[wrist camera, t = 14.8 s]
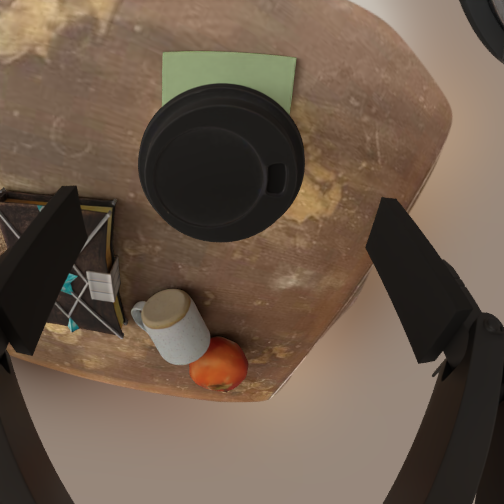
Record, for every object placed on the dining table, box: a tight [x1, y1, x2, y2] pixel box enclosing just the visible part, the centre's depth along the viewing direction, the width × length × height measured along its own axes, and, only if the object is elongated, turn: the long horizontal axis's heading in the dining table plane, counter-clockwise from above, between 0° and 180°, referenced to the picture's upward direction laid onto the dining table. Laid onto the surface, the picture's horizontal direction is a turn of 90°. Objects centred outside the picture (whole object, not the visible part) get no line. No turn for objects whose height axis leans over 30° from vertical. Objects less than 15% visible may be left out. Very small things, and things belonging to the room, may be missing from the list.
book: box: [0, 188, 128, 339], centre depth 36 cm, size 22×17×5 cm
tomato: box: [189, 336, 248, 392], centre depth 47 cm, size 9×9×8 cm
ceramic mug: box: [131, 289, 210, 365], centre depth 41 cm, size 11×8×8 cm
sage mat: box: [162, 51, 296, 115], centre depth 28 cm, size 12×12×1 cm
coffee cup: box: [138, 83, 305, 242], centre depth 22 cm, size 9×9×15 cm
